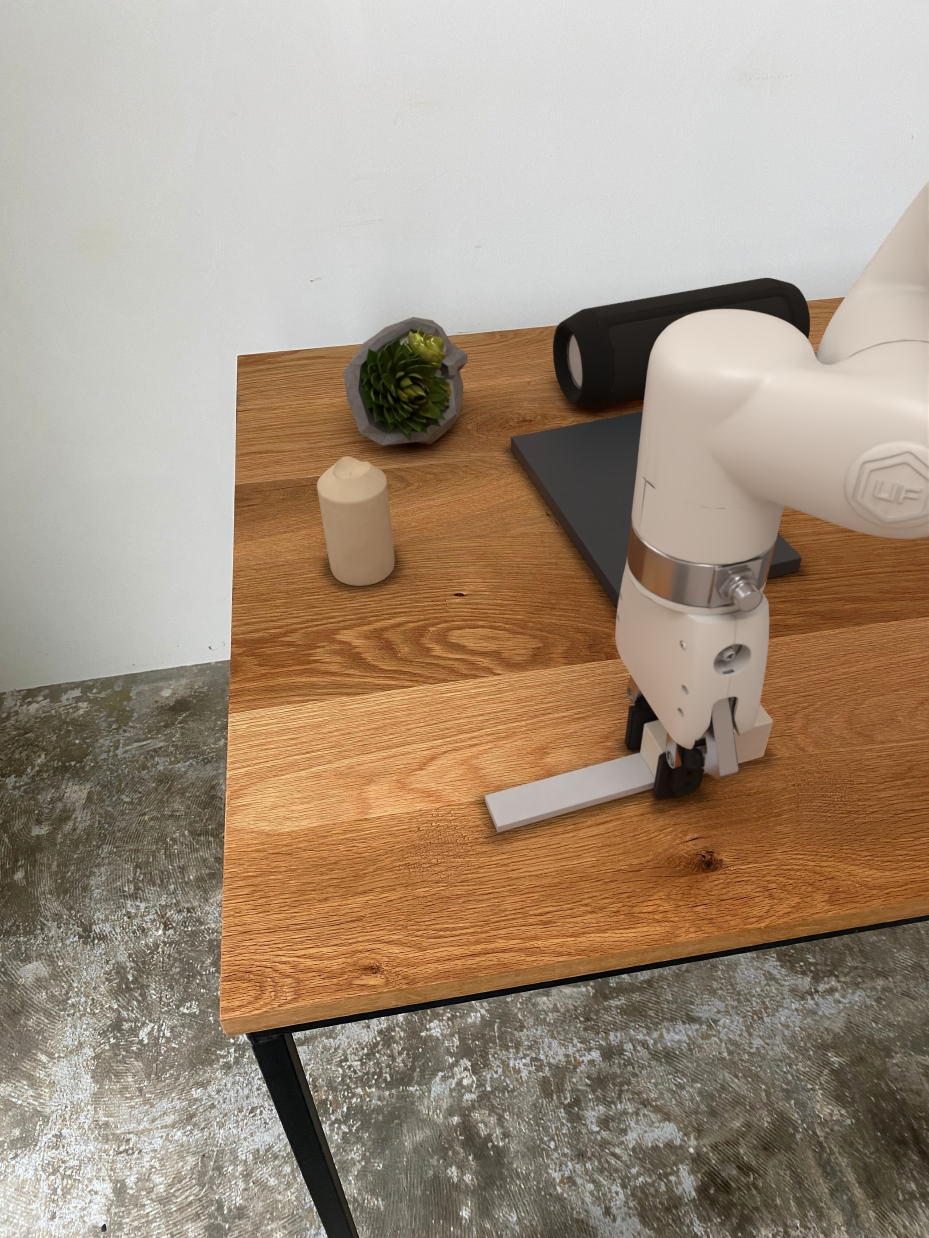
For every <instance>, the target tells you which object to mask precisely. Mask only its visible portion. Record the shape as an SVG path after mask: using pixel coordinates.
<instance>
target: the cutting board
mask: <svg viewBox="0 0 929 1238" xmlns="http://www.w3.org/2000/svg"><path fill="white" fill-rule="evenodd" d="M642 415H643V410H642V411H636V412H632V413H631V412H630V413H626V414H621V415H616V416H612V417H611V416H610V417H606V418H601V419H595V420H591V421H585V422H580V423H576V424H575V423H574V424H570V425H565V426H559V427H555V428H551V429H550V428H549V429H543V430H540V431H535V432H529V433H524V434H518V435H515V436H511V437H510V451H511V452H512V454H513V456H514V457H515V459H516V460H517V461H518V463H519V464H520V466H521V467H522V470H524V472H525V473H526V475H527V476H528V478H529V479H530V481H531V482H532V484H533V485H534V487H535V488H536V490H537V491H538V493H539V494H540V496H541V497H542V498H543V500H544V502H545V503H546V504H547V506H548V508H549V509H550V511H551V512H552V514H553V515H554V517H555V518H556V520H557V521H558V523H559V524H560V526H561V528H563V530H564V531H565V533H566V534H567V536H568V537H569V539H570V540H571V542H572V544H573V545H574V546H575V548H576V549H577V551H578V552H579V554H580V555H581V557H582V558H583V560H584V561H585V563H586V565H587V566H588V567H589V569H590V570H591V572H592V573H593V574H594V576H595V578H596V579H597V581H598V582H599V583H600V585H601V587H602V588H603V589H604V591H605V593H606V594H607V596H608V597H609V599H610V600H611V602H612V603H613V604H614V606H615V607H616V609H617V608H618V601H619V595H620V590H621V584H622V579H623V574H624V570H625V565H626V561H627V552H628V543H629V534H630V525H631V516H632V507H633V498H634V490H635V481H636V473H637V462H638V452H639V443H640V434H641V424H642ZM802 559H803V557H802V556H801V554H799V553H798V552H797V550H796V549H794V548H793V546H792V545H791V544H790V543H789V542H788V541H787V540H786V539H785V538H784V537H783V535H781V534H780V533H779V532H778V535H777V540H776V544H775V548H774V552H773V556H772V560H771V564H770V569H769V573H768V577H767V580H769V579H773V578H777V577H782V576H785V575H786V576H787V575H790V574H793V573H794V574H795V573H798V572H799V571H800V567H801V564H802Z"/></svg>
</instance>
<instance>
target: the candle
mask: <svg viewBox="0 0 929 1238" xmlns="http://www.w3.org/2000/svg"><path fill="white" fill-rule="evenodd" d="M316 489H317V496H318V501H319V507H320V513H321V520H322V527H323V532H324V533H323V534H324V538H325V544H326V550H327V556H328V562H329V568H330V571H331V574H332V575H333V577H334V578H335V579H336V580H337V581H339V582H341V583H342V584H346V585H348V586H355V587H364V586H370V585H374V584H377V583H379V582H382V581H383V580H385V579H386V578H388V577H389V576H390V575H391V574H392V572H393V571H394V568H395V562H396V559H395V558H396V557H395V549H394V539H393V529H392V520H391V519H392V517H391V510H390V502H389V501H390V499H389V492H388V491H389V490H388V481H387V476H386V474H385V472H384V471H383V470H381V468H378V467H377V466H376V465H373V464H372V463H370V461H363V460H359V459H357V458H354V457H353V456H347V455H346V456H343V457H341V458H339V459H338V460H337V462H335V463H334V464H333V465H332V466H330V467H329V468H328V469H326V470H325V471H324V472H323V473H322V475H320V477H319V478H318V480H317V483H316Z"/></svg>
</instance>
